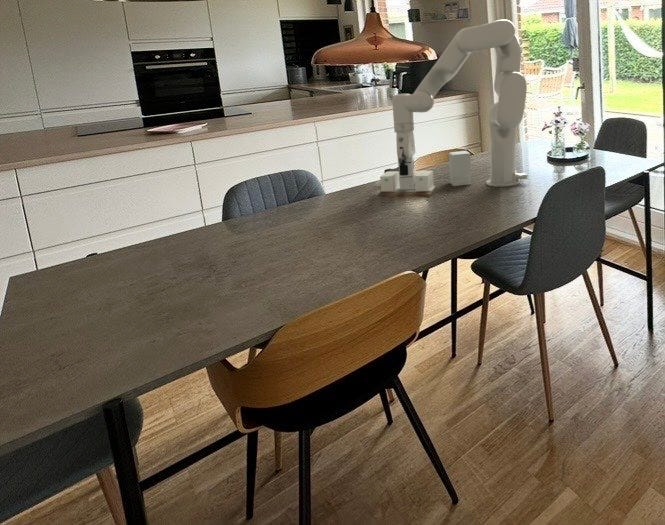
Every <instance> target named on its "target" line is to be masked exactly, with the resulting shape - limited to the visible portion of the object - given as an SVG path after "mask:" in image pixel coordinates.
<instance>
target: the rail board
mask: <svg viewBox="0 0 665 525" xmlns="http://www.w3.org/2000/svg"><path fill="white" fill-rule="evenodd" d="M437 190H438V186H437V185H434V186H433V187H432V188H431V189H430V190H429V191H415V189H409V190H401V189H400V186H399V187H398V188H397V189H395V190H394V191H381V189H380V190H379V192H378V193H377V197H378V198H381V197H382V198H383V197H385V198H388V197H390V198H395V197H396V198H397V197H398V198H403V197H404V198H406V197H407V198H409V197H411V198H413V197H420V198H421V197H423V198H424V197H426V198H427V197H428V198H429V197H431V196H432V195H433V194H434V193H435V192H436V191H437Z"/></svg>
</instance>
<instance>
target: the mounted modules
mask: <svg viewBox="0 0 665 525" xmlns="http://www.w3.org/2000/svg"><path fill="white" fill-rule="evenodd" d="M379 180H380V190H381V191H394V190H395V189H397V188H398V187H399V186H400V181H399V171H389V172H386V173H382V175H380V177H379ZM433 186H435V184H434V170H419V172H417V173H415V191H429V190H430V189H431V188H432V187H433Z"/></svg>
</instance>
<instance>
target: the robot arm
mask: <svg viewBox="0 0 665 525" xmlns="http://www.w3.org/2000/svg"><path fill="white" fill-rule="evenodd" d="M493 48H494V49H495V52H496V65H495V66H496V68H495V77H494V83H493V90H494V92H495V94H496V95H497V96H498V101H497V102H495V103H494V104H493V105H492V106H490V109H489V112H488V126H489V145H490V146H489V152H490V154H489V158H490V159H489V160H490V163H489V165H490V169H489V170H490V176H489V179H487V180H486V185H487V186H489V187H495V188H497V187H498V188H503V187H504V188H505V187H506V188H507V187H513V186H516V185H519V184H520V181H521V180H528V175H529V174H528V173H519V172H518V170H516V169H517V168H516V167H517V166H516V161H517V160H516V159H517V158H516V156H517V154H516V152H517V151H516V150H517V148H516V146H517V133H516V128H517V127H519V126H520V124H521V123H522V120H523V118H524V113H525V106H526V105H525V104H526V98H527V89H528V87H527V80H526V78H525V76H524V75H523V74H522V73H521V60H522V48H521V43H520V41H519V38H518V37H517V35H516V26H515V25H514V23H513V22H512V21H510V20H508V19H497V20H493V21H491V22H487V23H484V24H479V25H475V26H474V25H473V26H469V27H465V28H462V29H460V30H459V31H457V33H456V34H455V35H454V37H453V38H452V40H451V41H450V43H449V44H448V45H447V47H446V48H445V50H444V51H443V52H442V54H441V55H440V57H439V58H438V59H437V61H436V62H435V63H434V65H433V66H432V67H431V69H430V70H429V72H427V74H426V75H425V77H424V78H423V79H422V80H421V82H420V83H419V85H418V86H417V87H416V89H415V90H414V92H412V93H411V94H410V93H398V94H395V95H393V96H392V100H391V101H392V102H391V103H392V115H393V116H392V118H393V128H394V129H393V130H394V133H395V134H396V138H395V139H396V154H397V160H398V159H399V168H400V175H401V176H404V175H408V165H407V157H408V158H410V157H411V153H412V156H413V157H414V156H415V154H416V145H415V144H416V143H415V136H414V135H415V134H414V131H415V126H414V124H415V123H414V113H428V112H429V111H431V109H433V108H434V104H435V99H434V98H435V96H437V94H438V92H439V91H440V89H442V87H443V86H444V85H446V83H448V82H450V81H451V80H452V79H453V78H454V77H455V76H456V75H457V74H458V72H459V71H460V69H461V68H462V67H463V65H464V64H465V63H466V61H467V59H468V58H469V57H470V56H471V54H472V53H475V52H476V53H477V52H481V51H487V50H489V49H493ZM403 156H406V157H403ZM404 159H405V161H404Z"/></svg>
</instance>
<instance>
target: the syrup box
mask: <svg viewBox="0 0 665 525" xmlns="http://www.w3.org/2000/svg"><path fill="white" fill-rule="evenodd" d="M403 157H406V156H403ZM404 161H405V159H404ZM407 165H408V175H404V176H401V175H400V168H399V159H398V158H397V167H398V168H399V179H400V189H401V190H409V189H415V175H416V173H415V172H416V171H415V159H414V155H413V156H412V153H411V157H410V158H408V157H407Z"/></svg>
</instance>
